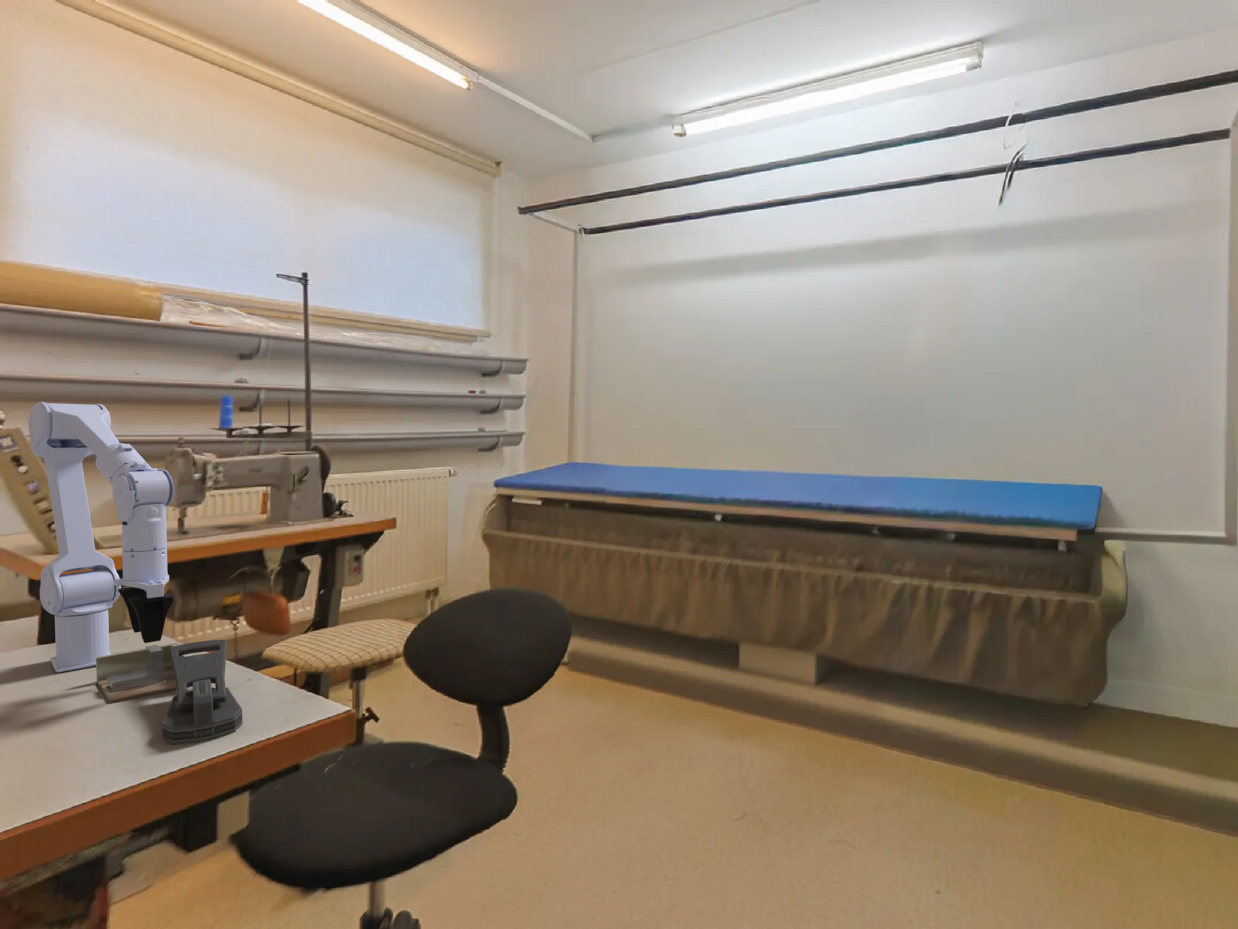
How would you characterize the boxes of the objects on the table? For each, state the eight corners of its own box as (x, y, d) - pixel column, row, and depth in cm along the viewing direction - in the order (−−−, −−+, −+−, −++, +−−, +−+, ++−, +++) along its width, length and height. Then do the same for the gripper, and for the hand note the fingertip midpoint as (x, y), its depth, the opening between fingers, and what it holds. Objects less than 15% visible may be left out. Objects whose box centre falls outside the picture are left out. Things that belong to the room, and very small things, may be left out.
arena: (96, 681, 110) (96, 657, 110) (177, 665, 117) (177, 642, 117) (110, 703, 101) (109, 676, 101) (197, 684, 108) (196, 659, 108)
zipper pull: (231, 636, 112) (243, 683, 90) (231, 678, 112) (244, 733, 91) (164, 645, 107) (160, 697, 86) (165, 688, 107) (162, 750, 86)
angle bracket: (158, 675, 111) (156, 644, 111) (163, 681, 108) (162, 649, 108) (107, 686, 107) (106, 653, 106) (112, 693, 104) (111, 659, 103)
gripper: (105, 546, 110) (107, 631, 111) (121, 557, 100) (124, 652, 100) (157, 541, 115) (159, 623, 116) (179, 552, 105) (181, 642, 105)
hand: (146, 636), depth 108 cm, fingers open, 7 cm apart
